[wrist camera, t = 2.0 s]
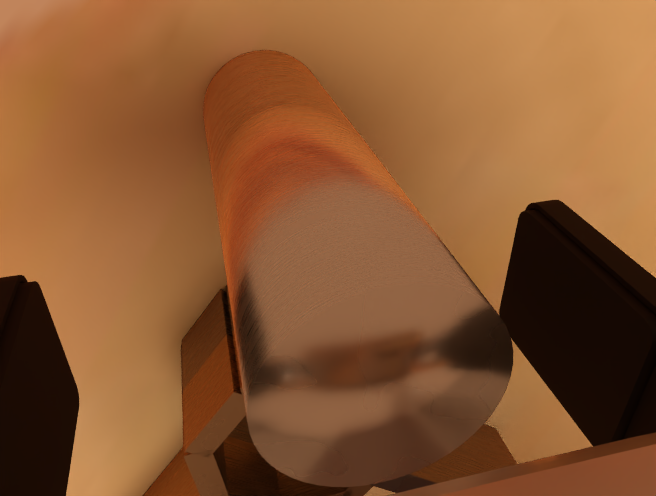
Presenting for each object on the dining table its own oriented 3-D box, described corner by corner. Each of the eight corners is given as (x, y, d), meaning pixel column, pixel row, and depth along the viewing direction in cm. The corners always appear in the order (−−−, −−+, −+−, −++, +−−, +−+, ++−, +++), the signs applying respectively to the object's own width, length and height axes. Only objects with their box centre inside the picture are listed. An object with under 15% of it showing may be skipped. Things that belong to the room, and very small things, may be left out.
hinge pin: (347, 96, 21) (563, 348, 9) (279, 188, 22) (395, 507, 11) (248, 23, 19) (370, 234, 7) (179, 129, 20) (190, 450, 9)
